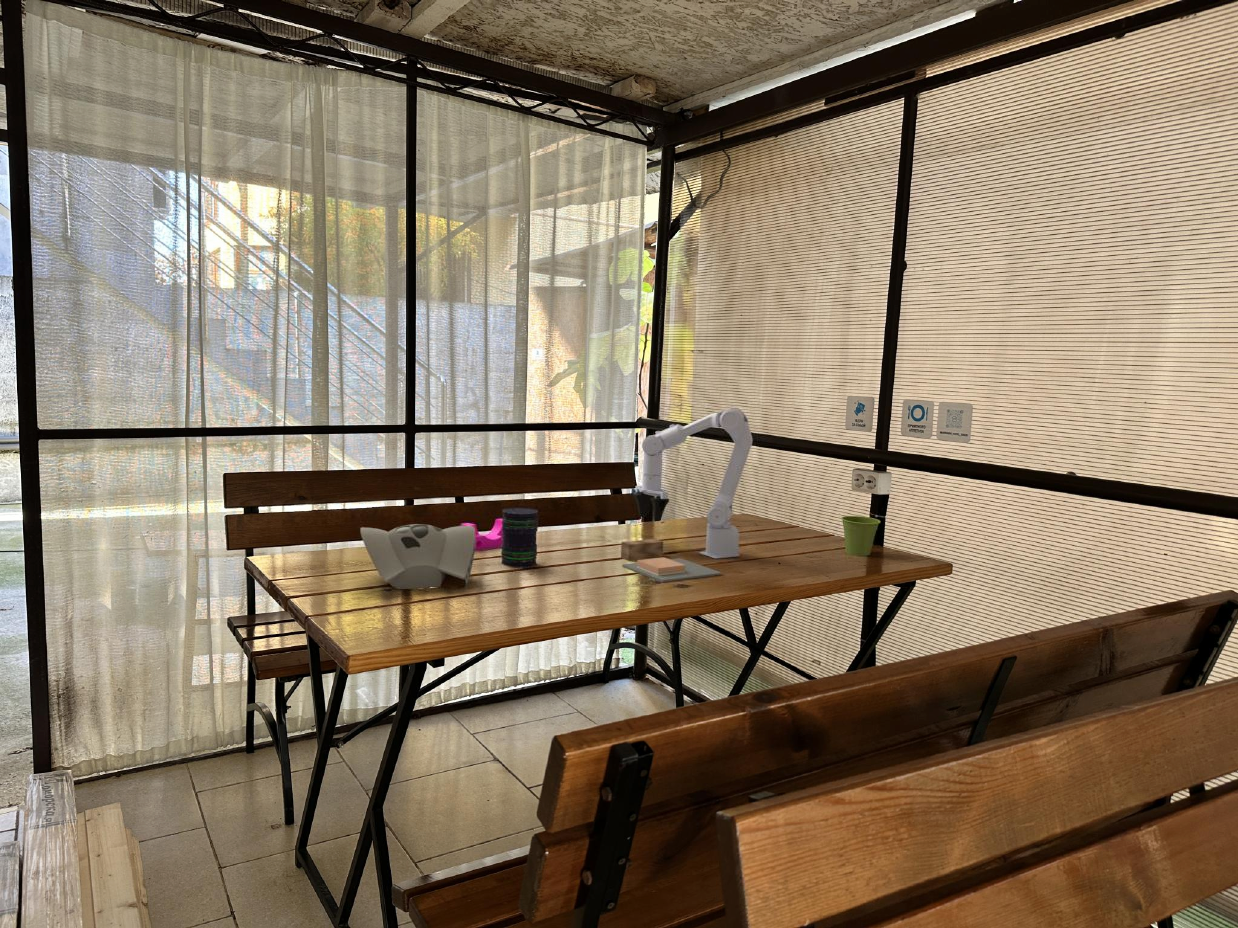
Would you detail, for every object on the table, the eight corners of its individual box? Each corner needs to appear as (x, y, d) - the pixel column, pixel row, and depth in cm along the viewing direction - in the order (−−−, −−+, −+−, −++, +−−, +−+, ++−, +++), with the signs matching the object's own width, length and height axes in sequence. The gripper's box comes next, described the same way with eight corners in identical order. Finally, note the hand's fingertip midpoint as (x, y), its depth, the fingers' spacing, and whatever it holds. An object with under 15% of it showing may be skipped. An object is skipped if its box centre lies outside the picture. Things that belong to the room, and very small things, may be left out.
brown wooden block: (654, 555, 256) (655, 538, 255) (662, 558, 253) (663, 541, 252) (620, 558, 249) (621, 541, 249) (628, 561, 246) (629, 544, 246)
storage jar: (544, 564, 237) (545, 511, 236) (516, 569, 230) (518, 515, 229) (520, 558, 244) (522, 506, 242) (493, 563, 237) (494, 509, 235)
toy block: (473, 552, 250) (473, 527, 249) (460, 548, 254) (460, 523, 253) (513, 545, 261) (513, 521, 260) (500, 542, 265) (500, 518, 264)
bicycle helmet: (463, 557, 232) (468, 505, 226) (481, 608, 210) (487, 552, 204) (354, 561, 222) (357, 506, 216) (362, 615, 200) (365, 556, 194)
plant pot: (835, 556, 264) (838, 520, 263) (841, 549, 275) (843, 514, 274) (875, 561, 260) (878, 524, 258) (879, 553, 271) (882, 518, 269)
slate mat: (680, 560, 250) (680, 558, 250) (721, 574, 234) (721, 572, 234) (622, 566, 239) (622, 564, 239) (662, 582, 223) (662, 580, 223)
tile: (663, 557, 241) (637, 560, 236) (685, 565, 233) (658, 568, 228) (663, 564, 241) (637, 567, 236) (685, 572, 233) (658, 575, 228)
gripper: (628, 472, 264) (626, 515, 266) (655, 478, 252) (653, 523, 254) (646, 471, 268) (645, 514, 270) (674, 477, 256) (672, 522, 258)
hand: (650, 518), depth 262 cm, fingers open, 7 cm apart
